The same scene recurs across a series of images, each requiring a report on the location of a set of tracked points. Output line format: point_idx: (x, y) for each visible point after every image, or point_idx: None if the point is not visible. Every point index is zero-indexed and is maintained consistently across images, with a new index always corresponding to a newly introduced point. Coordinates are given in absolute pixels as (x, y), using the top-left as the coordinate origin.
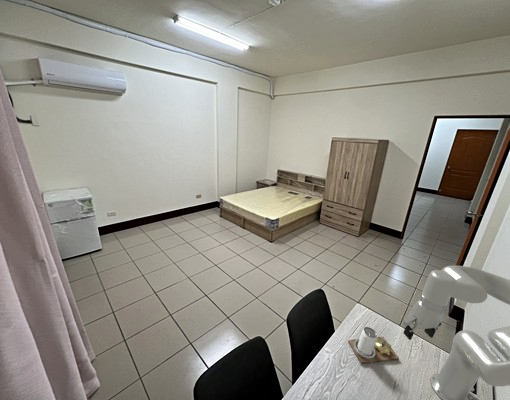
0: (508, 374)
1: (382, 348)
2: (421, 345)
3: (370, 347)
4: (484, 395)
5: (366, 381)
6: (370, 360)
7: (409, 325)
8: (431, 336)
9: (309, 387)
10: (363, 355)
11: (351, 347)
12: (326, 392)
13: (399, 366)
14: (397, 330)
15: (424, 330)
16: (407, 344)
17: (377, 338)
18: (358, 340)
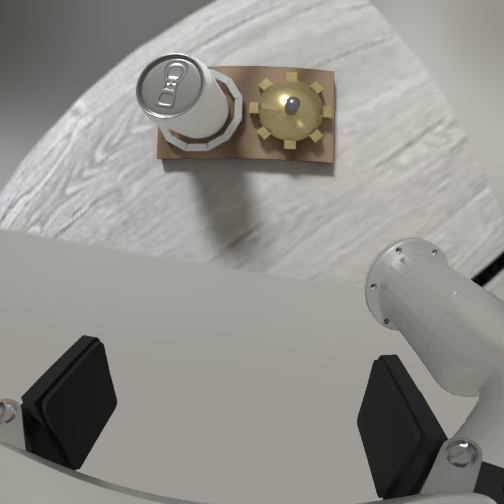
0: None
1: (279, 120)
2: (462, 141)
3: (180, 132)
4: None
5: (147, 215)
6: (197, 154)
7: (27, 443)
8: (364, 432)
9: (7, 212)
10: (171, 139)
11: None
12: (34, 228)
13: (315, 185)
14: (421, 67)
15: (376, 365)
16: (417, 121)
17: (290, 77)
18: None
